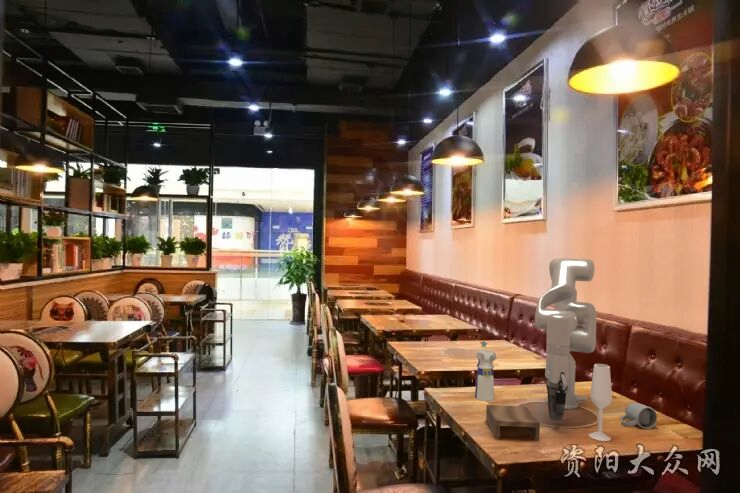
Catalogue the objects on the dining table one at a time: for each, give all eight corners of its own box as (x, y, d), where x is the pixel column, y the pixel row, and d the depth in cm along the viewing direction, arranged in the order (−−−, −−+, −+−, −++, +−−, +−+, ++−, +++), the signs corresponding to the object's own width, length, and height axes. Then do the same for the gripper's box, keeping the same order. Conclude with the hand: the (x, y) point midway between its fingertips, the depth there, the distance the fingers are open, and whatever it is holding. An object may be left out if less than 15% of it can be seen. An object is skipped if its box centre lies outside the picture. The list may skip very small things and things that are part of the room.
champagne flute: (584, 434, 162) (586, 364, 162) (598, 431, 165) (600, 362, 165) (600, 442, 156) (603, 368, 156) (615, 439, 159) (617, 367, 159)
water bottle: (497, 401, 195) (499, 340, 195) (476, 401, 195) (478, 339, 195) (492, 395, 203) (494, 336, 203) (472, 394, 203) (474, 336, 203)
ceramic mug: (641, 420, 178) (641, 399, 178) (657, 428, 169) (657, 407, 169) (615, 421, 176) (615, 400, 176) (630, 430, 168) (630, 408, 168)
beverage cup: (569, 423, 163) (570, 365, 162) (546, 421, 164) (548, 364, 163) (564, 415, 170) (566, 360, 169) (543, 413, 171) (544, 358, 171)
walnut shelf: (525, 423, 171) (525, 406, 171) (539, 441, 155) (539, 422, 155) (486, 421, 172) (486, 404, 172) (495, 439, 156) (496, 420, 156)
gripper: (539, 343, 175) (537, 391, 176) (555, 355, 158) (554, 408, 158) (559, 343, 175) (558, 392, 175) (578, 356, 157) (577, 409, 158)
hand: (556, 399), depth 167 cm, fingers closed on beverage cup, 6 cm apart
